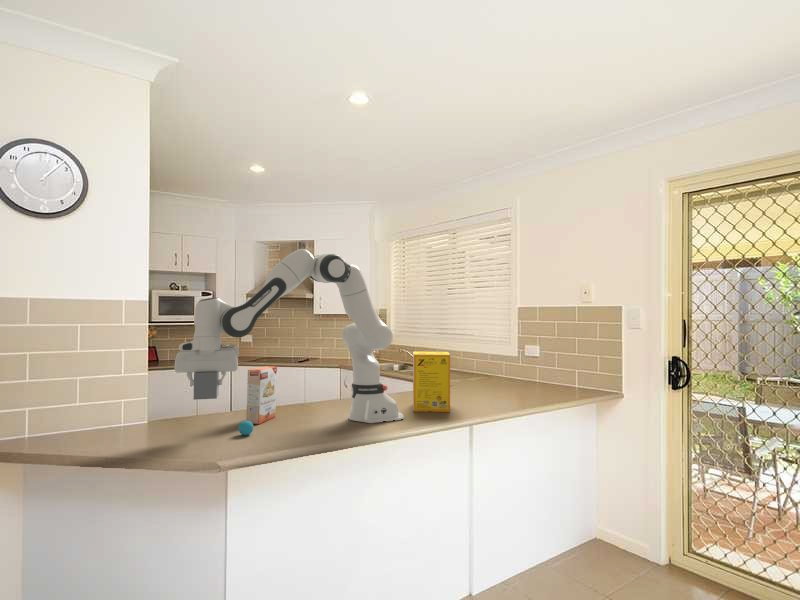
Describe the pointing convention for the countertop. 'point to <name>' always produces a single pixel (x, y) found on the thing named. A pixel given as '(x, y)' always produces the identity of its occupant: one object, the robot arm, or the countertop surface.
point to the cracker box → (261, 394)
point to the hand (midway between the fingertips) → (206, 385)
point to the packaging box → (431, 381)
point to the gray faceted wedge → (206, 385)
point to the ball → (245, 427)
